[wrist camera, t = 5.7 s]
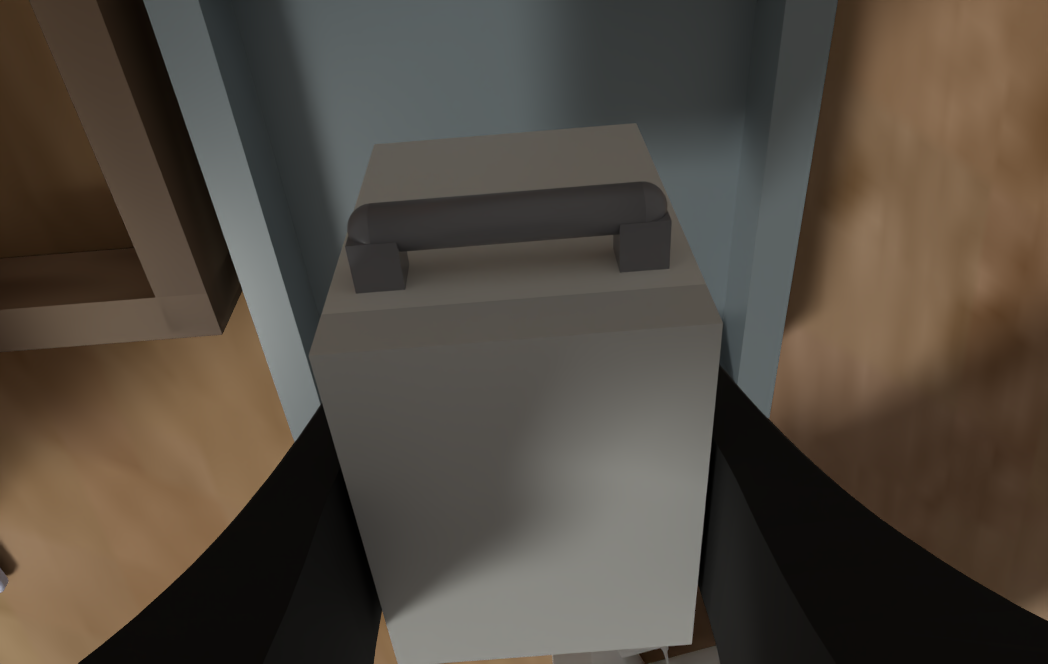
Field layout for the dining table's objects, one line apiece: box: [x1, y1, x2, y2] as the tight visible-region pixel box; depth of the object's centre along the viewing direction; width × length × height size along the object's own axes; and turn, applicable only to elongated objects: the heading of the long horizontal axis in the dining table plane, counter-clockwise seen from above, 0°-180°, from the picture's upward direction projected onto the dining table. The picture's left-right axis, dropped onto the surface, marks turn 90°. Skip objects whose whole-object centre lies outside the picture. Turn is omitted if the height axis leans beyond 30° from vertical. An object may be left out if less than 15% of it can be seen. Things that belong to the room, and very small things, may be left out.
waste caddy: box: [309, 123, 723, 664], centre depth 12 cm, size 4×7×6 cm, turn 4°
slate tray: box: [143, 0, 838, 442], centre depth 18 cm, size 13×13×2 cm
